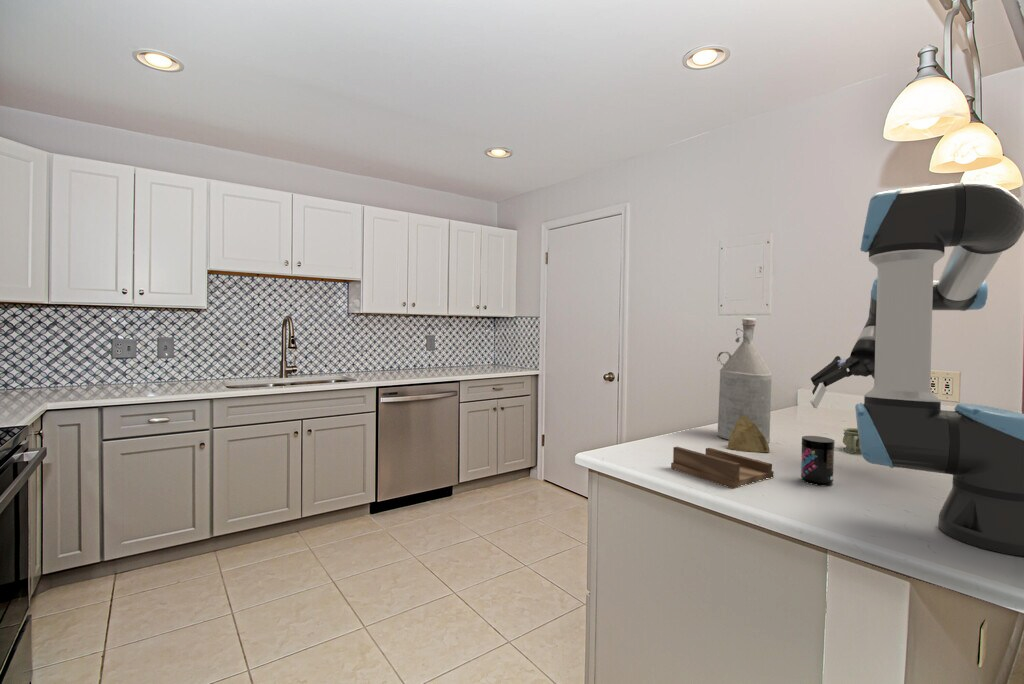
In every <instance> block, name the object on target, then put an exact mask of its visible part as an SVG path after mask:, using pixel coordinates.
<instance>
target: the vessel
mask: <svg viewBox="0 0 1024 684" xmlns="http://www.w3.org/2000/svg"><path fill="white" fill-rule="evenodd" d="M843 431H844V432H843V438H842V443H843V445H845V448H844V451H845V452H848V453H850V454H856V455H861V456H862V454H861V449H860V443H859V436H858V428H857V427H847V428H846V427H845V428H843Z"/></svg>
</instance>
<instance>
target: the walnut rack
mask: <svg viewBox="0 0 1024 684" xmlns="http://www.w3.org/2000/svg"><path fill="white" fill-rule="evenodd" d="M672 448H673V449H672V450H673V451H672V452H673V453H672V454H673V456H672V458H673V459H672V462H670V464H671V465H670V468H672V470H674V469H676V470H675V471H677V470H679V471H678V472H680V471H682V472H681V473H683V472H685V473H684V474H686V473H688V474H687V475H690V474H691V475H690V476H693V475H694V476H693V477H696V476H697V477H696V478H699V477H700V478H699V479H702V478H703V479H702V480H705V479H706V481H708V480H709V481H708V482H711V481H713V482H712V483H714V482H716V483H715V484H717V483H719V484H718V485H720V484H722V485H721V486H723V485H726V486H725V487H727V486H728V487H727V488H730V487H732V488H731V489H733V488H734V489H736V488H735V487H737V488H739V487H738V486H741V485H745V484H748V485H750V484H749V483H752V482H755V483H757V482H756V481H759V480H762V481H764V480H763V479H766V478H770V479H772V478H771V477H773V478H774V473H775V472H774V471H772V470H773V464H772V463H770V462H766V461H762V460H758V459H754V458H750V457H747V456H743V455H739V454H736V453H731V452H727V451H723V450H720V449H716V448H712V447H706V448H705V453H702V452H698V451H695V450H691V449H689V448H688V449H687V448H685V447H680V446H674V447H672ZM766 480H767V479H766ZM759 482H760V481H759ZM752 484H753V483H752ZM745 486H746V485H745ZM741 487H742V486H741Z"/></svg>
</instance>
